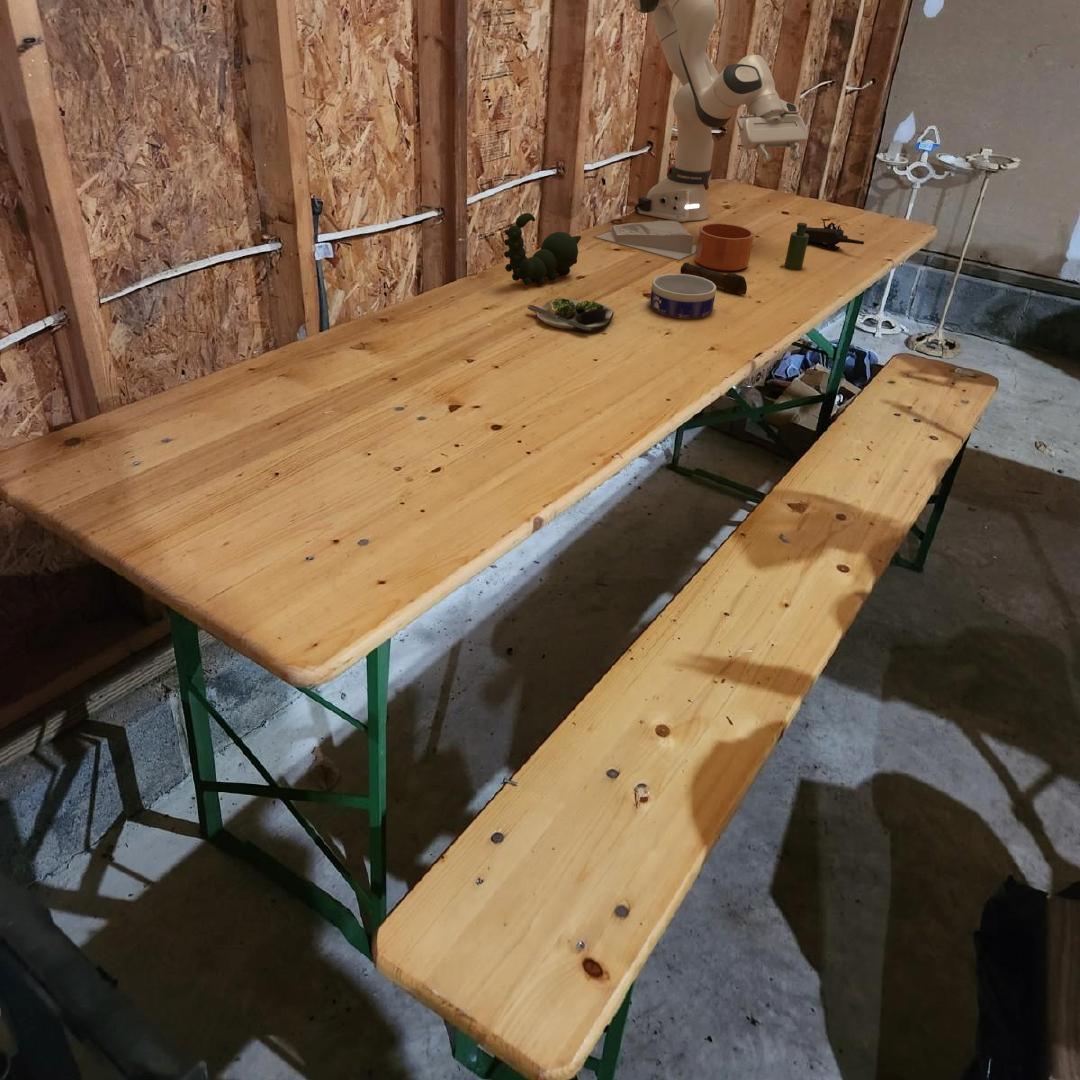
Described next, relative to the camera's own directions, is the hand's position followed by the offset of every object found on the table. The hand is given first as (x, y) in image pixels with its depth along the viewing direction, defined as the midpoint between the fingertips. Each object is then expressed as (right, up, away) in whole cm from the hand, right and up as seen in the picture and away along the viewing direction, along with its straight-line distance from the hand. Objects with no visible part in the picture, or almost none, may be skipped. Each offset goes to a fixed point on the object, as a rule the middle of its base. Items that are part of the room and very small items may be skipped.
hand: (781, 160), depth 250 cm
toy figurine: (-65, -37, -15) cm, 76 cm away
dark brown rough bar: (-21, -37, -11) cm, 44 cm away
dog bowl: (-31, -47, -26) cm, 62 cm away
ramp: (-34, -17, +17) cm, 41 cm away
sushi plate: (-57, -52, -36) cm, 85 cm away
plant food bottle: (+5, -27, +6) cm, 28 cm away
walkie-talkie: (+20, -17, +23) cm, 35 cm away
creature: (+25, -9, +34) cm, 43 cm away
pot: (-16, -27, +4) cm, 31 cm away
